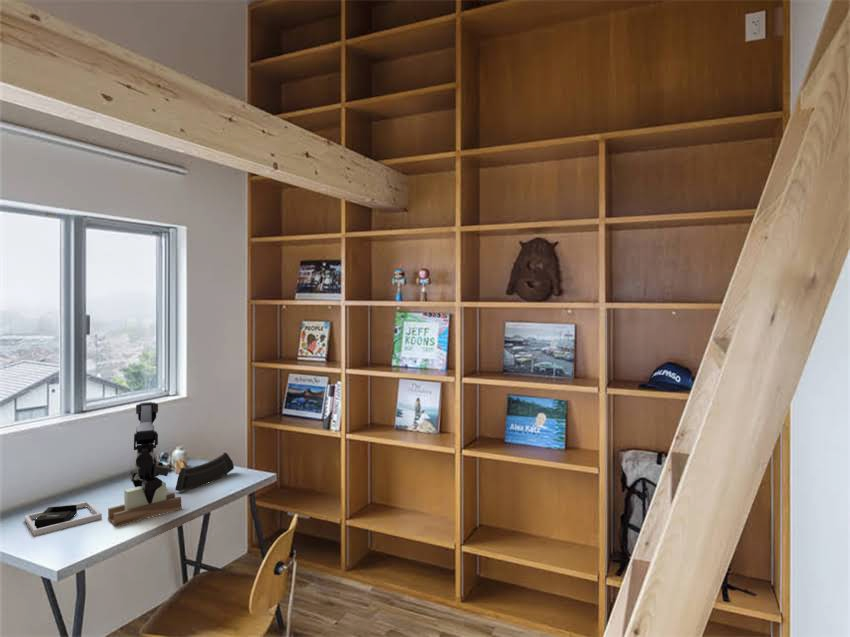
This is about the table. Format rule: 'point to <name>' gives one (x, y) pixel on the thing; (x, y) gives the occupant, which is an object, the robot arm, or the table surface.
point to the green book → (142, 496)
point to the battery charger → (56, 515)
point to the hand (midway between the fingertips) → (145, 500)
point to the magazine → (204, 473)
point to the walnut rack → (143, 510)
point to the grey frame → (62, 525)
